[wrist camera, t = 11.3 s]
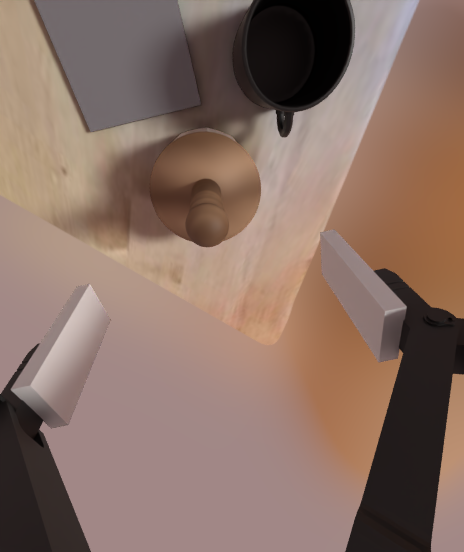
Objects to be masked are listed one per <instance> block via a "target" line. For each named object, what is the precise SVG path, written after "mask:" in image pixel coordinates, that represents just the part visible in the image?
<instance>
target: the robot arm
mask: <svg viewBox="0 0 464 552" xmlns="http://www.w3.org/2000/svg"><path fill="white" fill-rule="evenodd" d="M320 236H321V261H322V262H321V263H322V275H323V276H324V278H325V279H326V281H327V283H328V284H329V286H330V287H331V289H332V290H333V292H334V294H335V295H336V296H337V298H338V300H339V301H340V303H341V304H342V306H343V307H344V309H345V311H346V312H347V314H348V315H349V317H350V318H351V320H352V321H353V323H354V324H355V326H356V328H357V329H358V331H359V332H360V334H361V335H362V337H363V339H364V340H365V342H366V343H367V345H368V346H369V348H370V349H371V351H372V352H373V354H374V356H375V357H376V359H377V360H378V362H383V361H388V360H393V359H397V358H398V355H399V349H400V350H401V351H402V352H403V356H402V360H401V363H400V367H399V370H398V374H397V378H396V381H395V385H394V388H393V392H392V395H391V399H390V403H389V406H388V409H387V414H386V417H385V420H384V424H383V427H382V431H381V434H380V438H379V441H378V445H377V448H376V452H375V455H374V459H373V462H372V466H371V470H370V473H369V477H368V480H367V484H366V487H365V491H364V494H363V498H362V501H361V504H360V507H359V509H358V511H357V514H356V517H355V520H354V524H353V527H352V531H351V534H350V538H349V541H348V544H347V548H346V551H345V552H431V539H432V531H433V523H434V515H435V507H436V500H437V491H438V484H439V476H440V468H441V461H442V453H443V445H444V437H445V430H446V422H447V414H448V406H449V398H450V390H451V383H452V375H453V374H464V319H461V318H456V317H455V316H454V315H453V314H451V313H449V312H448V311H446V310H443V309H439V308H432V307H430V306H429V305H428V304H427V303H426V302H425V301H424V300H423V299H422V298H421V297H420V296H419V295H418V294H417V293H415V292H414V291H413V290H412V289H411V288H409V286H408V285H407V284H406V283H405V282H403V280H402V279H401V278H400V277H399V276H398V275H397V274H395V273H393V272H392V271H389V270H387V269H380V270H375V271H373V270H372V269H371V268H370V267H369V266H368V265H367V264H366V263H365V262H364V260H362V258H361V257H360V256H359V255H358V254H357V253H356V252H355V251H354V250H353V249H352V248H351V247H350V246H349V245H348V244H347V242H345V240H344V239H343V238H342V237H341V236H340V235H339V234H338V233H337V232H336V231H335V230H329V231H325V232H320ZM110 320H111V319H110V318H109V316H108V314H107V312H106V311H105V309H104V307H103V306H102V304H101V302H100V301H99V299H98V297H97V296H96V294H95V292H94V291H93V289H92V287H91V285H90V284H87V285H83V286H78V287H76V289H75V290H74V292H73V293H72V295H71V297H70V298H69V299H68V301H67V303H66V304H65V306H64V307H63V309H62V310H61V312H60V313H59V315H58V317H57V318H56V320H55V321H54V323H53V324H52V326H51V327H50V329H49V331H48V332H47V334H46V335H45V337H44V339H43V340H42V341H41V343H40V344H37V345H36V346H35V347H34V348H33V349H32V350H31V351H30V352H29V353H28V354H27V355H26V357H25V358H24V360H23V361H22V364H20V366H19V368H18V369H17V372H15V373H14V375H13V376H12V378H11V379H10V381H9V382H8V384H7V385H6V387H5V388H4V390H3V391H2V393H1V394H0V552H91V551H90V549H89V546H88V543H87V541H86V538H85V536H84V533H83V531H82V528H81V526H80V523H79V521H78V518H77V516H76V513H75V511H74V508H73V506H72V503H71V501H70V499H69V496H68V493H67V491H66V489H65V486H64V483H63V481H62V478H61V476H60V473H59V471H58V469H57V466H56V464H55V461H54V459H53V457H52V454H51V451H50V449H49V446H48V444H47V441H46V439H45V436H44V434H43V433H42V432H41V431H40V430H39V428H40V426H41V424H42V422H43V421H44V422H45V423H46V424H47V425H48V426H49V427H50V428H56V427H60V426H65V425H68V424H69V422H70V420H71V417H72V414H73V412H74V410H75V407H76V405H77V402H78V400H79V397H80V395H81V392H82V390H83V387H84V385H85V383H86V380H87V378H88V375H89V372H90V370H91V367H92V365H93V363H94V360H95V358H96V355H97V353H98V350H99V348H100V345H101V343H102V340H103V338H104V335H105V333H106V330H107V328H108V325H109V323H110Z"/></svg>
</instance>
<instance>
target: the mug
mask: <svg viewBox="0 0 464 552" xmlns="http://www.w3.org/2000/svg"><path fill="white" fill-rule="evenodd" d="M354 39H355V20H354V14H353V9H352V6H351V3H350V0H253V2H252V4H251V6H250V8H249V10H248V11H247V13H246V15H245V17H244V19H243V21H242V23H241V25H240V27H239V29H238V32H237V34H236V37H235V41H234V47H233V68H234V73H235V77H236V79H237V82H238V84H239V86H240V88H241V90H242V91H243V93H244V94H245V95H246V96H247V97H248V98H249V99H250V100H251V101H252V102H254V103H255V104H257V105H259V106H262V107H265V108H270V109H275V110H276V114H277V126H278V131H279V133H280V136H281V137H287V136H288V135H289V133H290V131H291V128H292V122H293V115H294V112H298V111H303V110H306V109H309V108H312V107H313V106H315V105H317V104H319V103H320V102H322V101H323V100H324V99H326V98H327V97H328V96H329V95H330V94H331V93H332V92H333V90H334V89H335V88H336V87H337V85H338V84H339V83H340V81H341V79H342V77H343V76H344V74H345V72H346V70H347V67H348V65H349V62H350V59H351V56H352V52H353V47H354ZM284 116H285V119H284Z"/></svg>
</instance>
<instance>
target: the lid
mask: <svg viewBox="0 0 464 552" xmlns="http://www.w3.org/2000/svg"><path fill="white" fill-rule="evenodd" d="M150 195H151V200H152V203H153V206H154V209H155V211H156V213H157V215H158V216H159V218H160V219H161V221H162V222H163V223H164V225H165V226H166V227H167V228H168V229H170V230H171V231H172V232H173V233H175V234H176V235H178V236H180V237H182V238H184V239H186V240H189V241H192V242H194V243H195V244H197V245H199V246H202V247H213V246H216V245H218V244H220V243H221V242H222V241H225V240H227V239H230V238H232V237H233V236H235V235H237V234H238V233H240V232H241V231H242V230H243V229H244V228H245V227H246V226H247V225H248V224H249V223H250V221H251V220H252V218H253V217H254V215H255V213H256V211H257V209H258V205H259V202H260V196H261V183H260V177H259V173H258V170H257V167H256V165H255V163H254V161H253V160H252V158H251V157H250V155H249V154H248V153H247V151H246V150H245V149H244V148H243V147H242V146H241V145H240V144H238V143H237V142H236V141H234V140H233V139H231V138H229V137H227V136H225V135H222V134H219V133H215V132H208V131H199V132H193V133H189V134H186V135H183V136H181V137H179V138H177V139H176V140H174V141H173V142H171V143H170V144H169V145H168V146H167V147H166V148H165V149H164V150H163V152H162V153H161V154H160V155H159V157H158V159H157V161H156V162H155V165H154V167H153V170H152V174H151V178H150Z"/></svg>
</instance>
